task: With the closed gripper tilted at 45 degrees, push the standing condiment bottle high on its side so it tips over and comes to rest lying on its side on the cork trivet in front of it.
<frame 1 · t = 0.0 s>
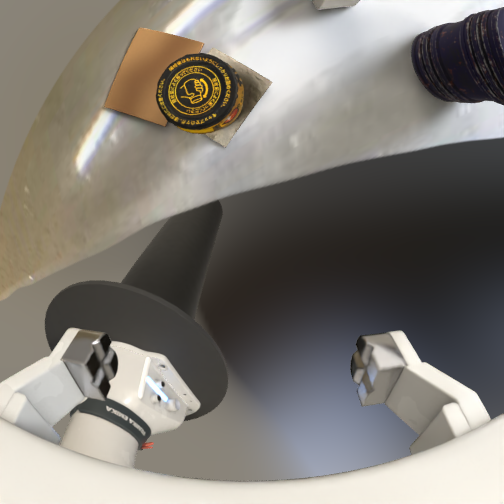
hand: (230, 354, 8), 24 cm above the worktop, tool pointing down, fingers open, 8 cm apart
storage jar: (440, 66, 23), on the worktop
cork trivet: (151, 74, 24), on the worktop
condiment: (218, 96, 25), on the worktop, touching cork trivet
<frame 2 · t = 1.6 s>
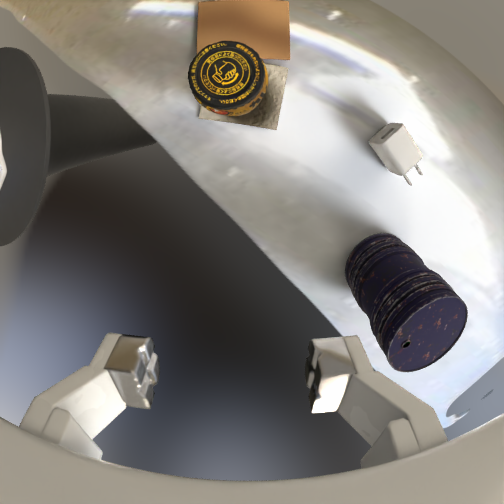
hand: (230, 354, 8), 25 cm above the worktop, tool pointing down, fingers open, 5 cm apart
usb wall charger: (393, 154, 30), on the worktop
storage jar: (377, 265, 36), on the worktop
cork trivet: (243, 28, 23), on the worktop
condiment: (243, 92, 27), on the worktop, touching cork trivet
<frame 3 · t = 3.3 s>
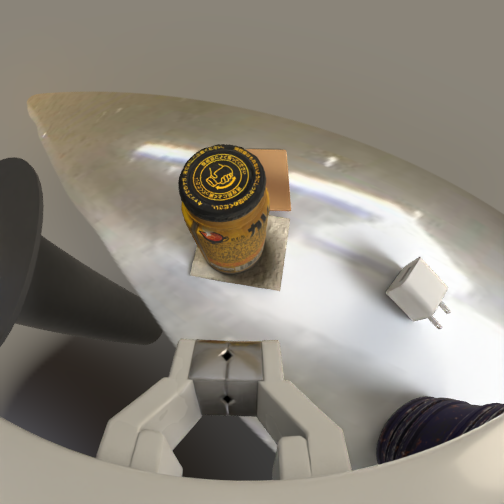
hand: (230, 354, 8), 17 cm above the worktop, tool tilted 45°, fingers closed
usb wall charger: (414, 302, 26), on the worktop
storage jar: (414, 438, 21), on the worktop
cork trivet: (242, 178, 30), on the worktop
condiment: (241, 247, 27), on the worktop, touching cork trivet
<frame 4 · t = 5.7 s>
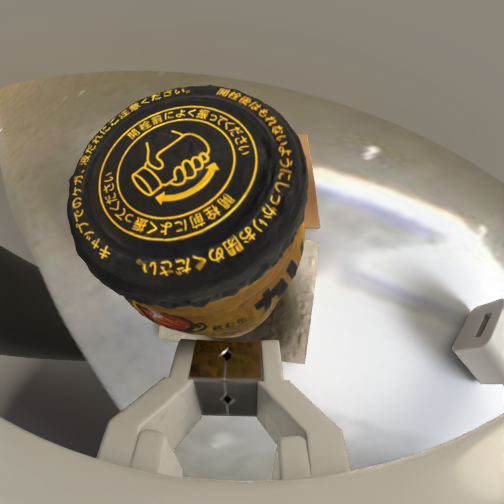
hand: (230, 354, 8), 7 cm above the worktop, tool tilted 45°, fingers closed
usb wall charger: (481, 356, 15), on the worktop
cork trivet: (241, 176, 19), on the worktop
condiment: (240, 291, 17), on the worktop, touching cork trivet, gripper
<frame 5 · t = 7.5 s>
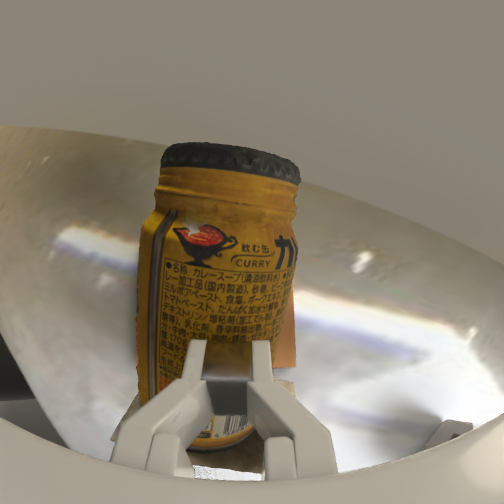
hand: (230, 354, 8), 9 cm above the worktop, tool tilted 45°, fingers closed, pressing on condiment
usb wall charger: (447, 455, 14), on the worktop
cork trivet: (214, 305, 18), on the worktop
condiment: (216, 417, 12), point 3 cm above the worktop, touching cork trivet, gripper
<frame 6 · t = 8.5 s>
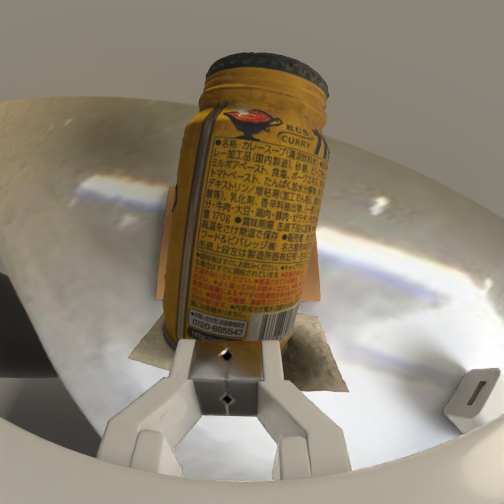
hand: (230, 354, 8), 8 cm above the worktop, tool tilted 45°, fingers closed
usb wall charger: (472, 412, 14), on the worktop
cork trivet: (238, 240, 18), on the worktop
condiment: (243, 343, 13), point 3 cm above the worktop
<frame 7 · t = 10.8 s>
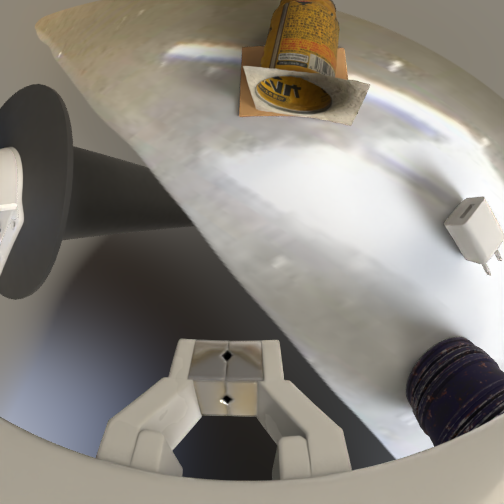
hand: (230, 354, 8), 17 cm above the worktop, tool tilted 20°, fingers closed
usb wall charger: (469, 238, 22), on the worktop
storage jar: (443, 375, 23), on the worktop
cork trivet: (294, 78, 22), on the worktop
condiment: (304, 101, 19), point 4 cm above the worktop, touching cork trivet
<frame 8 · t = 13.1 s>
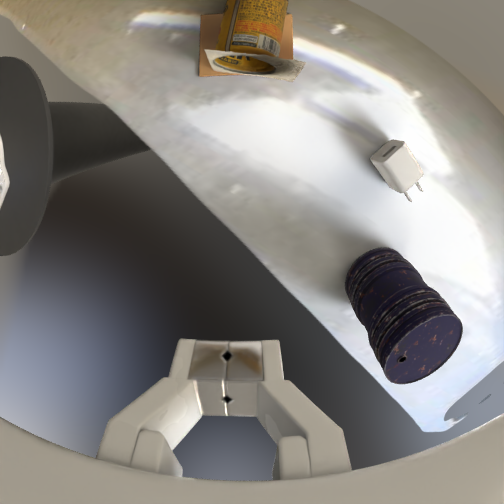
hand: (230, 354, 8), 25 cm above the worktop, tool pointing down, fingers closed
usb wall charger: (394, 170, 30), on the worktop
storage jar: (376, 278, 37), on the worktop
cork trivet: (246, 42, 24), on the worktop
condiment: (253, 69, 22), point 4 cm above the worktop, touching cork trivet
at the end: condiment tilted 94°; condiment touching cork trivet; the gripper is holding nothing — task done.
